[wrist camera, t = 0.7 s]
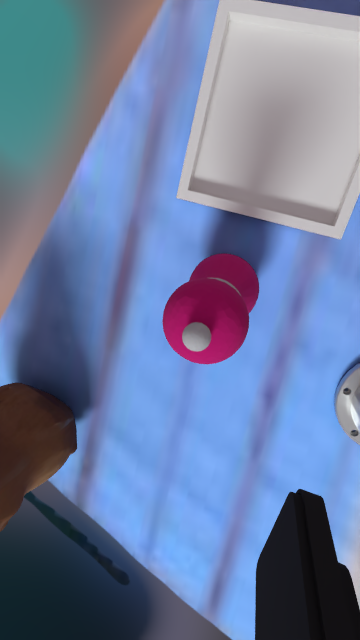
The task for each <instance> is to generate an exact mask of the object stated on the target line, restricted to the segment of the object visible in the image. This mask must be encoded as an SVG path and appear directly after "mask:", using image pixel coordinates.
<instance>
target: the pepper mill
mask: <svg viewBox="0 0 360 640" xmlns="http://www.w3.org/2000/svg"><path fill="white" fill-rule="evenodd" d="M258 294H259V282H258V278H257V275H256V273H255V271H254V269H253V268H252V267H251V265H250V264H248V263H247V262H246V261H245V260H243V259H242V258H240V257H238V256H236V255H232V254H216V255H212V256H210V257H208V258H206V259H204V260H203V261H202V262H200V263H199V264H198V266H197V267H196V268H195V270H194V271H193V273H192V275H191V277H190V280H189V282H187V283H185V284H183V285H182V286H180V287H179V288H178V289H176V291H175V292H174V293H173V294H172V295H171V297H170V298H169V300H168V302H167V304H166V306H165V309H164V314H163V329H164V333H165V336H166V339H167V341H168V343H169V344H170V346H171V347H172V348H173V350H174V351H175V352H177V353H178V354H179V355H180V356H182V357H184V358H185V359H187V360H189V361H191V362H194V363H199V364H213V363H218V362H221V361H223V360H225V359H227V358H229V357H230V356H232V355H233V354H234V353H235V352H236V351H237V350H238V349H239V348H240V347H241V345H242V344H243V342H244V340H245V338H246V335H247V332H248V328H249V313H250V312H251V310H252V309H253V307H254V305H255V303H256V301H257V298H258Z"/></svg>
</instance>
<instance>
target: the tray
mask: <svg viewBox="0 0 360 640" xmlns="http://www.w3.org/2000/svg"><path fill="white" fill-rule="evenodd" d="M359 193H360V16H354V15H348V14H341V13H335V12H328V11H321V10H315V9H308V8H302V7H295V6H289V5H282V4H275V3H269V2H262V1H256V0H220V1H219V5H218V10H217V14H216V19H215V24H214V28H213V33H212V37H211V42H210V46H209V51H208V55H207V60H206V65H205V69H204V74H203V78H202V83H201V87H200V92H199V96H198V101H197V106H196V110H195V115H194V119H193V124H192V128H191V133H190V137H189V142H188V147H187V151H186V156H185V160H184V165H183V169H182V174H181V179H180V183H179V188H178V192H177V197H176V198H179V199H182V200H186V201H190V202H194V203H198V204H202V205H206V206H210V207H214V208H218V209H222V210H226V211H230V212H234V213H238V214H242V215H246V216H249V217H253V218H257V219H261V220H265V221H269V222H273V223H277V224H281V225H285V226H289V227H293V228H297V229H301V230H305V231H309V232H313V233H317V234H321V235H324V236H328V237H332V238H336V239H341V238H342V236H343V233H344V231H345V228H346V226H347V223H348V221H349V218H350V216H351V213H352V211H353V208H354V206H355V203H356V201H357V198H358V196H359Z"/></svg>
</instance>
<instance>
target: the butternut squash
mask: <svg viewBox="0 0 360 640" xmlns="http://www.w3.org/2000/svg"><path fill="white" fill-rule="evenodd" d="M76 449H77V435H76V424H75V419H74V416H73V412H72V410H71V408H70V407H68V406H67V405H66V404H65V403H63V402H62V401H60V400H59V399H57V398H56V397H55V396H53V395H51V394H49V393H47V392H44V391H41V390H39V389H36V388H34V387H31V386H29V385H26V384H22V383H12V384H7V385H4V386H1V387H0V532H1V531H2V530H3V529H4V527H5V526H6V525H7V523H8V521H9V519H10V518H11V517H12V516H13V515H14V514H15V513H16V512H17V511H18V509H19V508H20V506H21V503H22V501H23V497H24V495H25V494H26V493H28V492H29V491H31V490H33V489H34V488H36V487H38V486H39V485H41V484H42V483H44V482H45V481H47V480H48V479H49V478H50V477H51V476H53V475H54V474H55V473H56V472H57V471H58V470H59V469H60V468H61V467H62V466H63V465H64V463H65V462H66V460H67V459H68V457H69V455H70V454H72V453H74V452H75V451H76Z"/></svg>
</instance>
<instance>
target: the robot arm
mask: <svg viewBox="0 0 360 640" xmlns="http://www.w3.org/2000/svg"><path fill="white" fill-rule="evenodd" d="M345 388H347V389H345ZM334 407H335V413H336V416H337V419H338V421H339V423H340V425H341V427H342V429H343V430H344V432H345V433H346V434H347V435H348V436H349V437H350V438H351V439H352V440H353V441H355V442H356V443H357V444H359V445H360V363H358V364H356V365H355V366H354V367H353V368H352V369H350V370H349V371H348V372H347V373H346V375H345V376H344V377H343V378H342V379H341V381H340V383H339V385H338V387H337V390H336V393H335V399H334ZM255 640H360V609H359V605H358V602H357V598H356V594H355V590H354V586H353V582H352V578H351V575H350V573H349V570H348V569H347V567H346V566H345V565H343V564H341V563H338V561H337V556H336V552H335V547H334V543H333V539H332V534H331V530H330V525H329V521H328V517H327V512H326V508H325V503H324V500H323V498H322V497H321V496H319V495H316V494H313V493H310V492H308V491H305V490H302V489H299V490H297V492H296V493H293V492H290V493H289V494H288V496H287V498H286V501H285V503H284V505H283V507H282V509H281V511H280V513H279V516H278V518H277V520H276V522H275V524H274V526H273V529H272V531H271V533H270V535H269V537H268V539H267V541H266V544H265V546H264V548H263V550H262V552H261V554H260V557H259V559H258V563H257V569H256V616H255Z"/></svg>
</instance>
